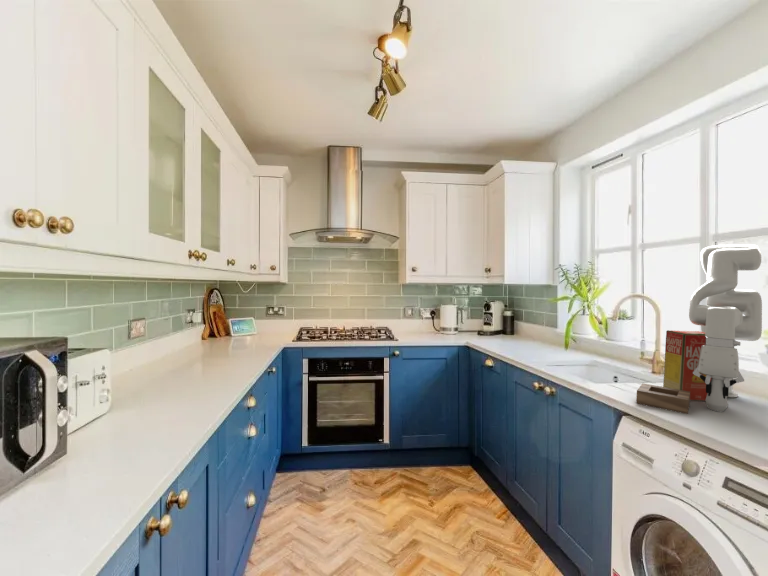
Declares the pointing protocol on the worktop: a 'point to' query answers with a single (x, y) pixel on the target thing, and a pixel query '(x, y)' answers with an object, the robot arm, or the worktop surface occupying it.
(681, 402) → the socket block
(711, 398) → the salt shaker
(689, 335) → the food packaging
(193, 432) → the worktop surface
